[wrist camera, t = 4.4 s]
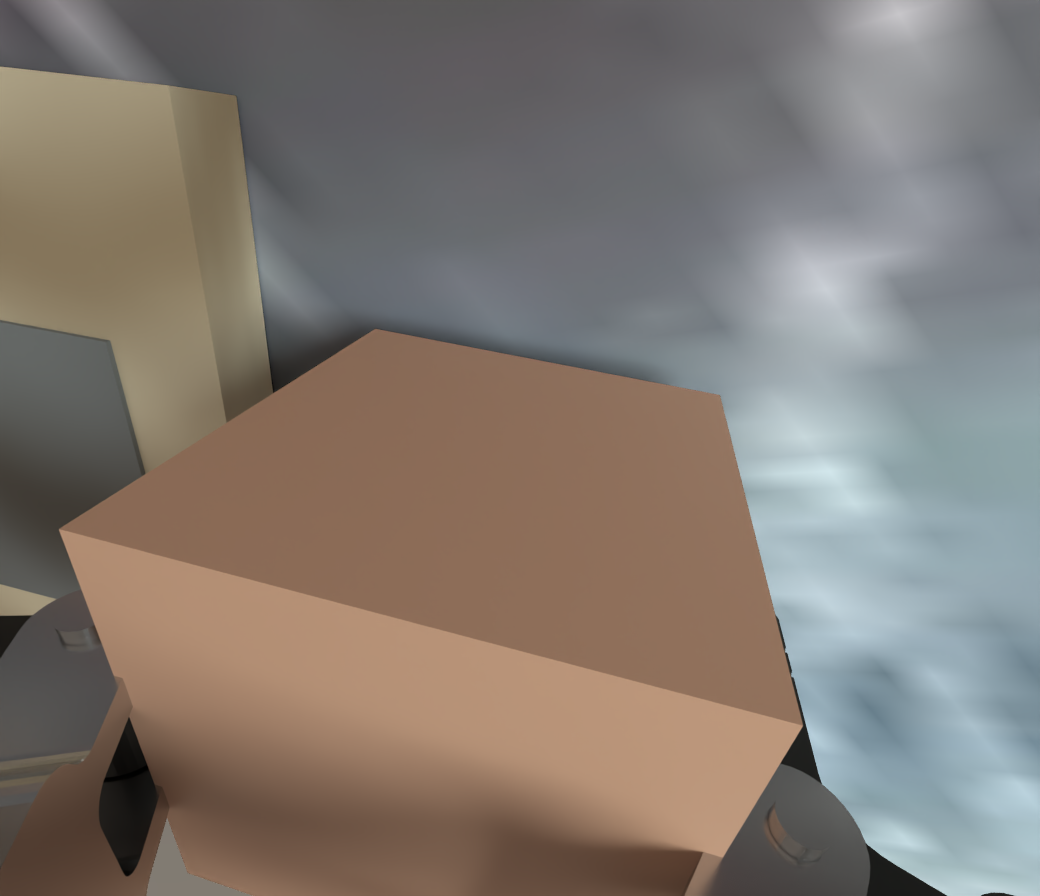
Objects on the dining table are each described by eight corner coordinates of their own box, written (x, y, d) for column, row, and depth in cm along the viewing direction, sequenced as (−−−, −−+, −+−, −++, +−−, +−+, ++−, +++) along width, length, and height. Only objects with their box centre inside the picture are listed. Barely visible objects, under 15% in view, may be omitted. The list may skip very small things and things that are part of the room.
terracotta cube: (375, 328, 10) (59, 529, 5) (720, 395, 9) (802, 725, 4) (378, 580, 13) (187, 872, 8) (637, 646, 12) (621, 1022, 7)
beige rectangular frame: (-310, 33, 11) (-449, 16, 10) (236, 95, 9) (163, 84, 8) (-15, 617, 19) (-69, 654, 17) (311, 707, 17) (281, 756, 16)
